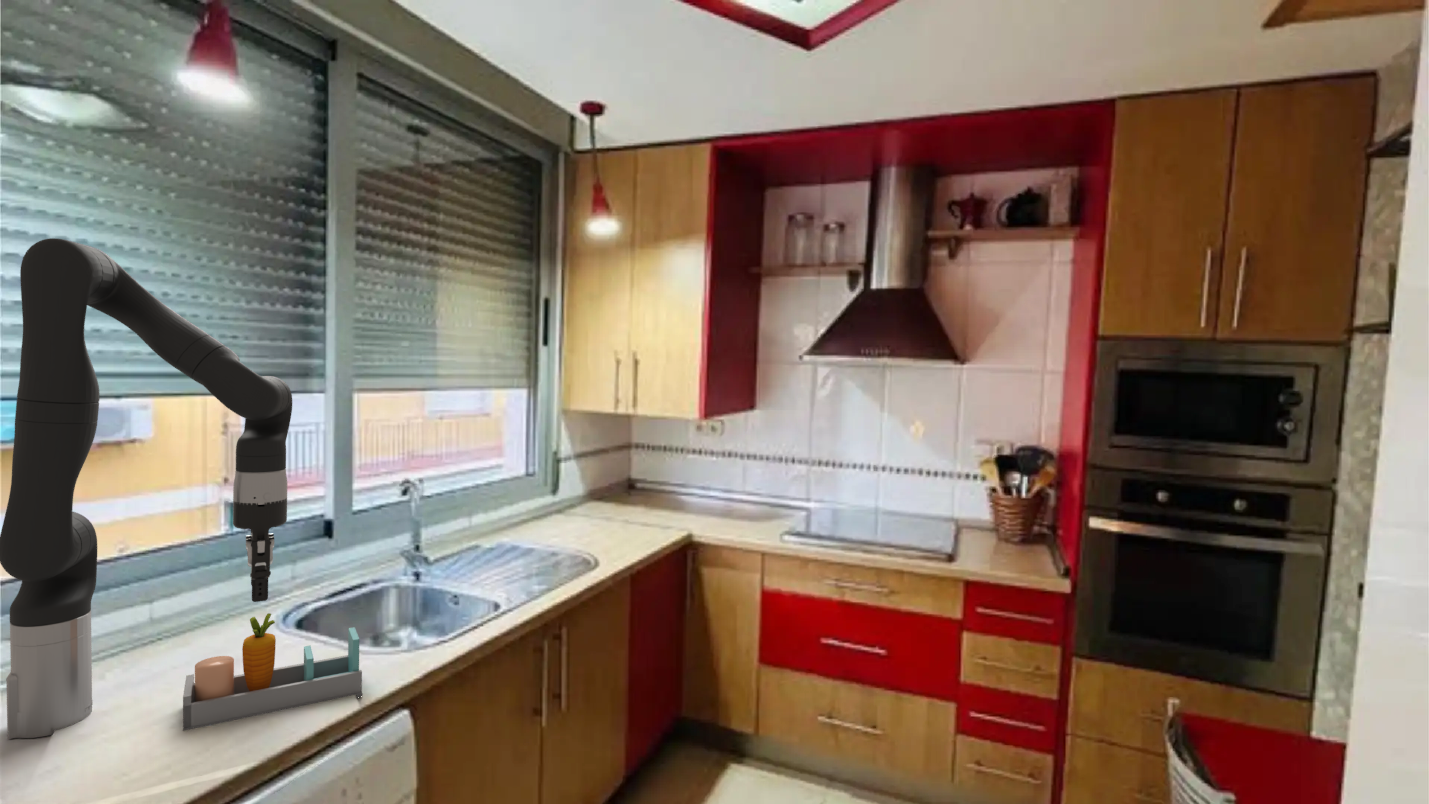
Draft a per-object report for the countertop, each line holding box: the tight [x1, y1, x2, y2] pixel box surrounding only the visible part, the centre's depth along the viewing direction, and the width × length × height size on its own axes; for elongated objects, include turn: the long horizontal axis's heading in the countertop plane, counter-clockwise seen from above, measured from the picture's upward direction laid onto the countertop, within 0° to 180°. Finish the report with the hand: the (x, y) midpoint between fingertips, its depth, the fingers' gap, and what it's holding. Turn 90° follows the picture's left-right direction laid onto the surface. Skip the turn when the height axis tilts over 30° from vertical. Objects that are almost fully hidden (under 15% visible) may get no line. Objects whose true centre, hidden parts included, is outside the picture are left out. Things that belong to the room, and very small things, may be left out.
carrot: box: [241, 613, 277, 691], centre depth 117 cm, size 5×5×15 cm
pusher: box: [303, 626, 360, 681], centre depth 124 cm, size 8×6×9 cm
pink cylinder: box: [194, 655, 235, 702], centre depth 114 cm, size 5×5×8 cm
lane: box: [182, 654, 363, 732], centre depth 119 cm, size 25×10×6 cm, turn 124°
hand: (259, 592), depth 117 cm, fingers open, 8 cm apart
